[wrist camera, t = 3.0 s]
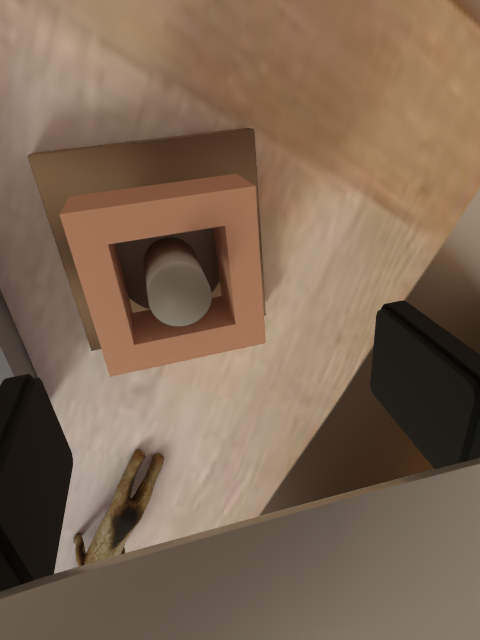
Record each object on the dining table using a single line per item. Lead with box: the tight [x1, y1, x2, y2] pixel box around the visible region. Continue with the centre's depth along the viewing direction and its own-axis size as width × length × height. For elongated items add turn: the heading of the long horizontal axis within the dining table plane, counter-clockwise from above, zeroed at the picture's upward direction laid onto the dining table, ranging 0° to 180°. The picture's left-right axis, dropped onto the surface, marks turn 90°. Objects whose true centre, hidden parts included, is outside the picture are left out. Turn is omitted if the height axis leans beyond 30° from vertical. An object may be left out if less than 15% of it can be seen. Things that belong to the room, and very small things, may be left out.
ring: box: [59, 174, 266, 376], centre depth 17 cm, size 7×7×3 cm
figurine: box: [74, 450, 164, 567], centre depth 28 cm, size 4×5×15 cm
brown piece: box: [28, 128, 266, 351], centre depth 18 cm, size 10×10×7 cm
